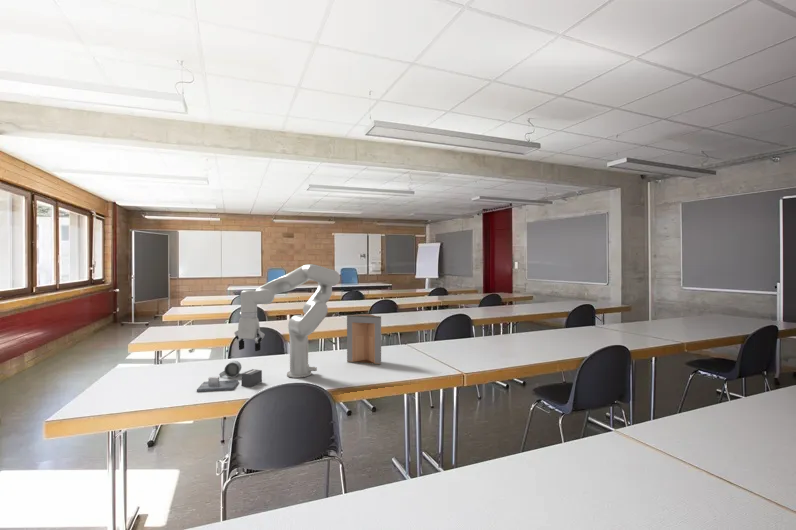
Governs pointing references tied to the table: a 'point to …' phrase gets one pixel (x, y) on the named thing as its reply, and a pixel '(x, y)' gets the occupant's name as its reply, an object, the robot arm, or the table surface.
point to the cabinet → (364, 339)
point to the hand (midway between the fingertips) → (249, 349)
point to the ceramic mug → (231, 369)
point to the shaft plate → (217, 385)
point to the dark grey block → (251, 377)
